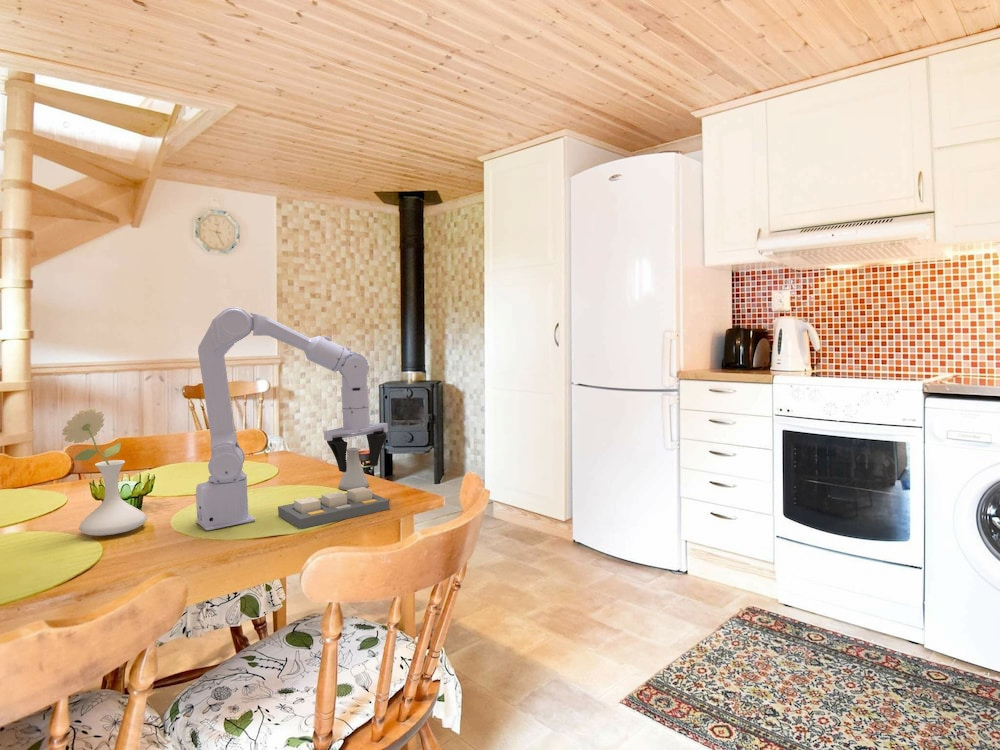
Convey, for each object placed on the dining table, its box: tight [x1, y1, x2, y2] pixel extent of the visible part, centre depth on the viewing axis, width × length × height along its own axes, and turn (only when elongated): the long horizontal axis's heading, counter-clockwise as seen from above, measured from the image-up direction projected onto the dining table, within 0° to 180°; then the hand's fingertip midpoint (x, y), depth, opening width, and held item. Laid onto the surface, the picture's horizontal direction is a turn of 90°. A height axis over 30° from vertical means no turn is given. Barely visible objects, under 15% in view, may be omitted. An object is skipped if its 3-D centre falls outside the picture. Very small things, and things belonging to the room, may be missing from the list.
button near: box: [293, 496, 321, 513], centre depth 127 cm, size 4×4×2 cm
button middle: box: [321, 491, 347, 508], centre depth 131 cm, size 4×4×2 cm
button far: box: [346, 487, 373, 502], centre depth 135 cm, size 4×4×2 cm
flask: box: [338, 446, 370, 491], centre depth 152 cm, size 7×7×10 cm
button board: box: [277, 492, 391, 530], centre depth 131 cm, size 20×12×2 cm, turn 130°
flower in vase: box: [62, 407, 148, 537], centre depth 119 cm, size 13×11×25 cm
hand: (358, 468), depth 134 cm, fingers open, 7 cm apart
